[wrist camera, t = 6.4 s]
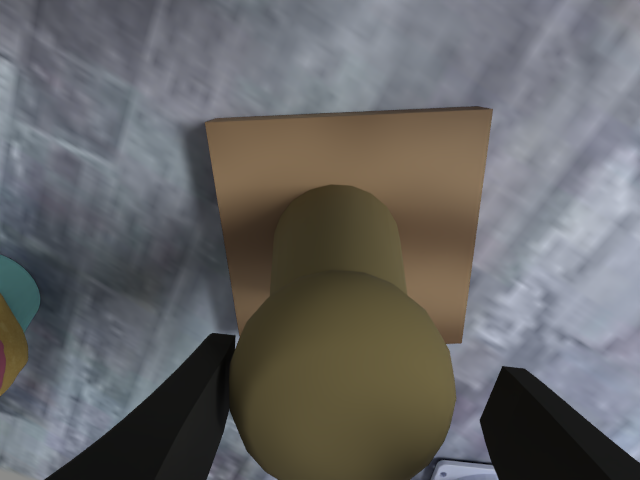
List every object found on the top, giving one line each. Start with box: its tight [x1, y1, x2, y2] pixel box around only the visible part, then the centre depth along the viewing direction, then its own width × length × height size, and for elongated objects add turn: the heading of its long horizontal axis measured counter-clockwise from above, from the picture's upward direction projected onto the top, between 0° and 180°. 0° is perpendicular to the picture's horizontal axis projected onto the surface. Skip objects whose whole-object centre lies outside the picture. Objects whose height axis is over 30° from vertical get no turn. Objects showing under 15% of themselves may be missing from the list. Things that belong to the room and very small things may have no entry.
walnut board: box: [205, 106, 493, 344], centre depth 19 cm, size 12×12×2 cm
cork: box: [229, 184, 456, 480], centre depth 12 cm, size 6×6×11 cm
